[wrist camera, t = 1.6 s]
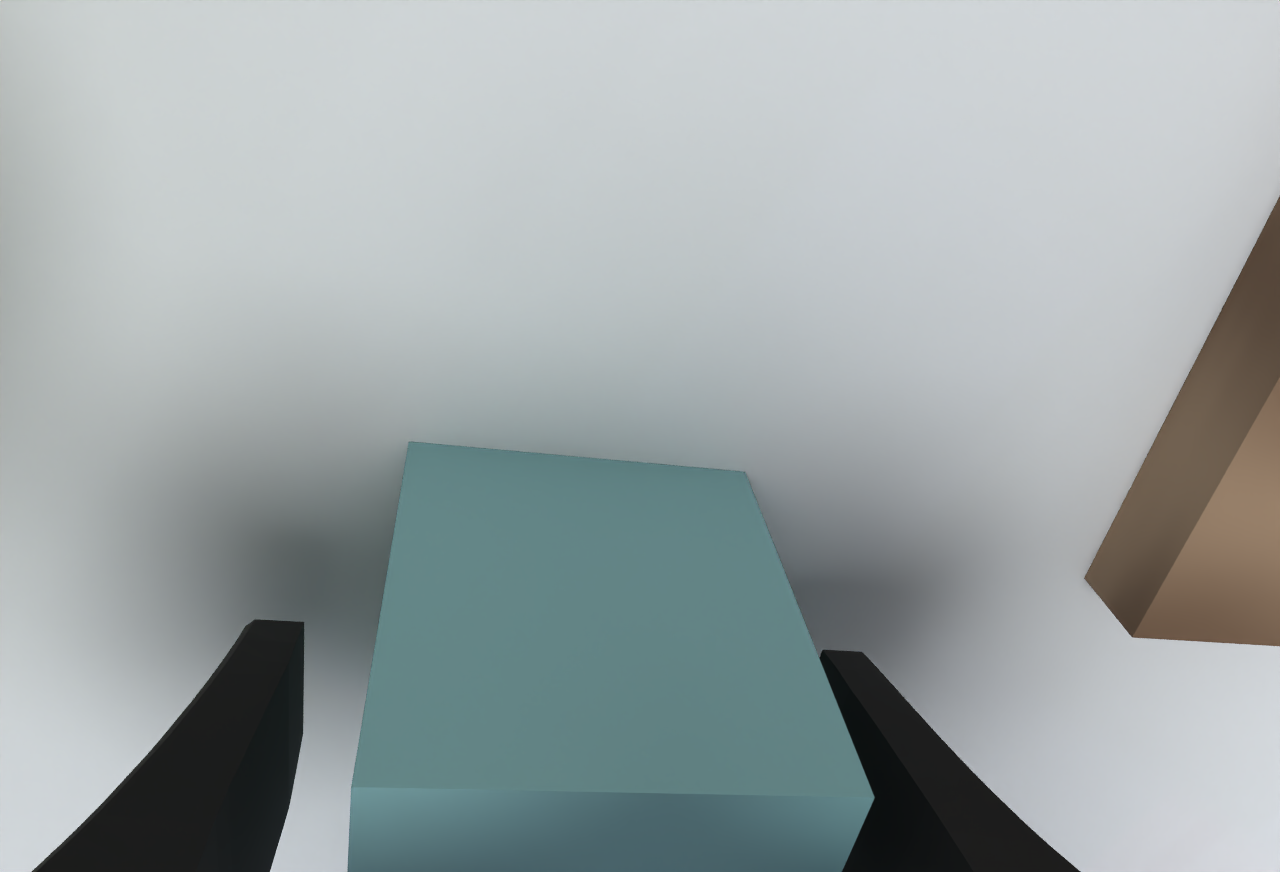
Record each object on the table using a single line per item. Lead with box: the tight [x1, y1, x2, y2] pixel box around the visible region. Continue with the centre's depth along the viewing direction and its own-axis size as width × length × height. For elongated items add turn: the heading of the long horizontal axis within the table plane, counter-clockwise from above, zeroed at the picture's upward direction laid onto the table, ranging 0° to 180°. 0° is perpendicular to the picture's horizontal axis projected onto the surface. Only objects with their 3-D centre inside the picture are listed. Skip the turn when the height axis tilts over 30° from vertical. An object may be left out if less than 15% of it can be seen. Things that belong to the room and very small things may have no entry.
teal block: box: [348, 442, 875, 872], centre depth 13 cm, size 5×5×6 cm
